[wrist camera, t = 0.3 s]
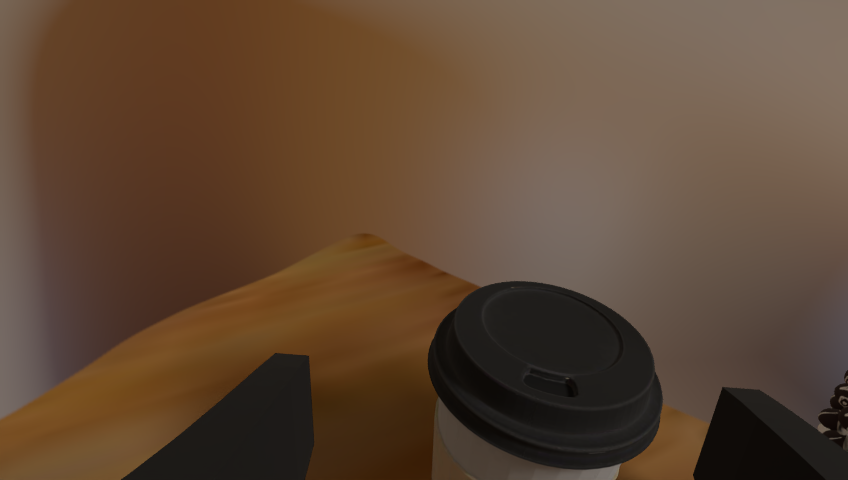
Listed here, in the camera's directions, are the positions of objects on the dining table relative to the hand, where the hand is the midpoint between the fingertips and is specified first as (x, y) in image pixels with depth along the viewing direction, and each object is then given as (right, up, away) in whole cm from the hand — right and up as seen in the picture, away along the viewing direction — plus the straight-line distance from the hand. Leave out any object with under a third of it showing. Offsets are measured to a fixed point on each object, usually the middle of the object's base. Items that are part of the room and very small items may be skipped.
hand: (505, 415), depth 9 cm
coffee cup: (+2, -14, +18) cm, 23 cm away
